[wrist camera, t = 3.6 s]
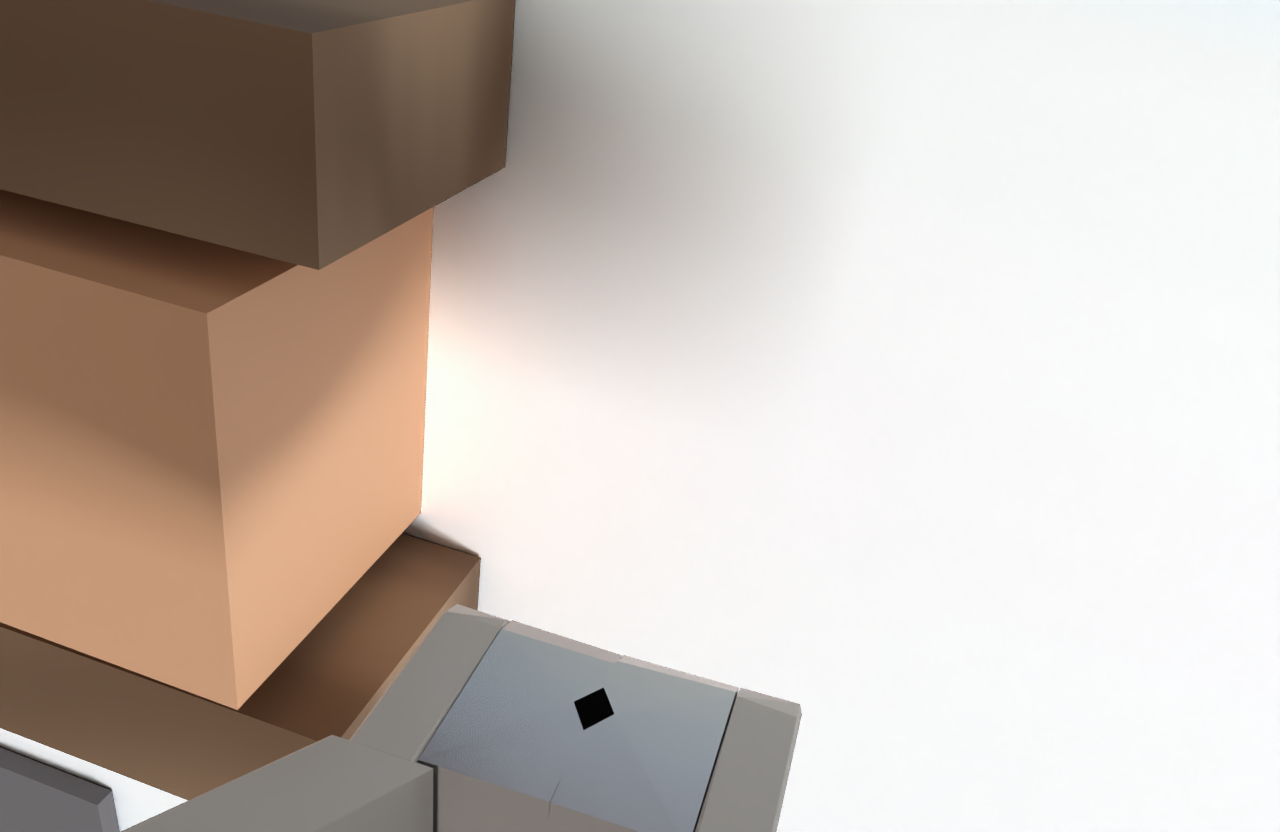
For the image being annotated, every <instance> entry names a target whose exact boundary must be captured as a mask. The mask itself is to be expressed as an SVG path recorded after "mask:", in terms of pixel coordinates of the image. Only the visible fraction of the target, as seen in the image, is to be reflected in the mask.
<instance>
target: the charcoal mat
mask: <svg viewBox="0 0 1280 832" xmlns="http://www.w3.org/2000/svg"><path fill="white" fill-rule="evenodd" d="M0 832H120V831H119V826H118V821H117V816H116V810H115V805H114V800H113V794H112V791H111V790H109V789H106V788H103V787H101V786H98V785H96V784H93V783H91V782H88V781H85V780H83V779H80V778H78V777H75V776H73V775H70V774H68V773H65V772H62V771H60V770H57V769H55V768H52V767H50V766H47V765H44V764H42V763H39V762H37V761H34V760H32V759H29V758H27V757H24V756H21V755H19V754H16V753H14V752H11V751H9V750H6V749H3V748H1V747H0Z"/></svg>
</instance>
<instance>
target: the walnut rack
mask: <svg viewBox="0 0 1280 832" xmlns="http://www.w3.org/2000/svg"><path fill="white" fill-rule="evenodd" d="M514 15H515V0H0V189H2V190H6V191H9V192H13V193H17V194H21V195H25V196H29V197H33V198H37V199H41V200H45V201H49V202H53V203H57V204H61V205H65V206H69V207H72V208H76V209H80V210H84V211H88V212H92V213H96V214H100V215H104V216H108V217H112V218H116V219H120V220H124V221H128V222H132V223H135V224H139V225H143V226H147V227H151V228H155V229H159V230H163V231H167V232H171V233H175V234H179V235H183V236H187V237H191V238H195V239H199V240H202V241H206V242H210V243H214V244H218V245H222V246H226V247H230V248H234V249H238V250H242V251H246V252H250V253H254V254H258V255H262V256H265V257H269V258H273V259H277V260H281V261H285V262H289V263H293V264H297V265H301V266H305V267H309V268H313V269H317V270H320V269H322V268H324V267H326V266H328V265H329V264H331V263H333V262H335V261H337V260H338V259H340V258H342V257H344V256H346V255H347V254H349V253H351V252H353V251H355V250H356V249H358V248H360V247H362V246H364V245H365V244H367V243H369V242H371V241H373V240H374V239H376V238H378V237H380V236H382V235H383V234H385V233H387V232H389V231H391V230H392V229H394V228H396V227H398V226H400V225H401V224H403V223H405V222H407V221H409V220H410V219H412V218H414V217H416V216H418V215H419V214H421V213H423V212H425V211H427V210H429V209H430V208H432V207H434V206H436V205H438V204H439V203H441V202H443V201H445V200H447V199H448V198H450V197H452V196H454V195H456V194H457V193H459V192H461V191H463V190H465V189H466V188H468V187H470V186H472V185H474V184H475V183H477V182H479V181H481V180H483V179H484V178H486V177H488V176H490V175H492V174H493V173H495V172H497V171H499V170H501V169H502V168H504V167H505V159H506V143H507V127H508V111H509V95H510V79H511V63H512V47H513V31H514ZM480 560H481V558H480V557H477V556H473V555H470V554H467V553H464V552H460V551H457V550H454V549H451V548H447V547H444V546H441V545H438V544H434V543H431V542H428V541H425V540H421V539H418V538H415V537H412V536H408V535H405V534H401V535H400V536H399V537H398V538H397V539H396V540H395V541H394V542H393V543H392V544H391V545H390V546H389V548H388V549H387V550H386V551H385V552H384V553H383V554H382V555H381V556H380V557H379V558H378V559H377V560H376V562H375V563H374V564H373V565H372V566H371V567H370V568H369V569H368V570H367V571H366V572H365V573H364V574H363V576H362V577H361V578H360V579H359V580H358V581H357V582H356V583H355V584H354V585H353V586H352V587H351V588H350V590H349V591H348V592H347V593H346V594H345V595H344V596H343V597H342V598H341V599H340V600H339V601H338V603H337V604H336V605H335V606H334V607H333V608H332V609H331V610H330V611H329V612H328V613H327V614H326V615H325V617H324V618H323V619H322V620H321V621H320V622H319V623H318V624H317V625H316V626H315V627H314V628H313V629H312V631H311V632H310V633H309V634H308V635H307V636H306V637H305V638H304V639H303V640H302V641H301V642H300V643H299V645H298V646H297V647H296V648H295V649H294V650H293V651H292V652H291V653H290V654H289V655H288V656H287V657H286V659H285V660H284V661H283V662H282V663H281V664H280V665H279V666H278V667H277V668H276V669H275V670H274V671H273V673H272V674H271V675H270V676H269V677H268V678H267V679H266V680H265V681H264V682H263V683H262V684H261V685H260V687H259V688H258V689H257V690H256V691H255V692H254V693H253V694H252V695H251V696H250V697H249V698H248V699H247V701H246V702H245V703H244V704H243V705H242V706H241V707H240V708H239V709H238V710H236V709H233V708H231V707H228V706H225V705H223V704H220V703H217V702H215V701H212V700H209V699H206V698H204V697H201V696H198V695H196V694H193V693H190V692H188V691H185V690H182V689H179V688H177V687H174V686H171V685H169V684H166V683H163V682H161V681H158V680H155V679H152V678H150V677H147V676H144V675H142V674H139V673H136V672H134V671H131V670H128V669H125V668H123V667H120V666H117V665H115V664H112V663H109V662H107V661H104V660H101V659H99V658H96V657H93V656H90V655H88V654H85V653H82V652H80V651H77V650H74V649H72V648H69V647H66V646H63V645H61V644H58V643H55V642H53V641H50V640H47V639H45V638H42V637H39V636H36V635H34V634H31V633H28V632H26V631H23V630H20V629H18V628H15V627H12V626H10V625H7V624H4V623H1V622H0V728H2V729H5V730H7V731H10V732H12V733H15V734H18V735H20V736H23V737H25V738H28V739H31V740H33V741H36V742H38V743H41V744H44V745H46V746H49V747H51V748H54V749H57V750H59V751H62V752H64V753H67V754H70V755H72V756H75V757H77V758H80V759H83V760H85V761H88V762H90V763H93V764H96V765H98V766H101V767H103V768H106V769H108V770H111V771H114V772H116V773H119V774H121V775H124V776H127V777H129V778H132V779H134V780H137V781H140V782H142V783H145V784H147V785H150V786H153V787H155V788H158V789H160V790H163V791H166V792H168V793H171V794H173V795H176V796H179V797H181V798H184V799H186V800H191V799H193V798H195V797H198V796H200V795H202V794H204V793H206V792H208V791H211V790H213V789H215V788H217V787H219V786H222V785H224V784H226V783H228V782H230V781H232V780H235V779H237V778H239V777H241V776H243V775H246V774H248V773H250V772H252V771H254V770H256V769H259V768H261V767H263V766H265V765H267V764H269V763H272V762H274V761H276V760H278V759H280V758H283V757H285V756H287V755H289V754H291V753H293V752H296V751H298V750H300V749H302V748H304V747H307V746H309V745H311V744H313V743H315V742H317V741H320V740H322V739H324V738H326V737H328V736H330V735H334V736H338V737H341V738H344V739H348V740H349V739H350V738H351V737H352V735H353V734H354V733H355V731H356V730H357V728H358V727H359V726H360V724H361V723H362V722H363V720H364V719H365V718H366V716H367V715H368V714H369V712H370V711H371V709H372V708H373V707H374V705H375V704H376V703H377V701H378V700H379V699H380V697H381V696H382V694H383V693H384V692H385V690H386V689H387V688H388V686H389V685H390V684H391V682H392V681H393V680H394V678H395V677H396V675H397V674H398V673H399V671H400V670H401V669H402V667H403V666H404V665H405V663H406V662H407V660H408V659H409V658H410V656H411V655H412V654H413V652H414V651H415V650H416V648H417V647H418V646H419V644H420V643H421V641H422V640H423V639H424V637H425V636H426V635H427V633H428V632H429V631H430V629H431V628H432V626H433V625H434V624H435V622H436V621H437V620H438V618H439V617H440V616H441V614H443V613H444V612H446V611H447V610H449V609H450V608H452V607H453V606H455V605H456V604H459V605H462V606H465V607H468V608H471V609H474V610H477V609H478V593H479V577H480Z"/></svg>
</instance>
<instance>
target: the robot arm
mask: <svg viewBox="0 0 1280 832" xmlns="http://www.w3.org/2000/svg"><path fill="white" fill-rule="evenodd" d="M738 690H739V688H738V687H735V686H731V685H727V684H724V683H720V682H717V681H713V680H710V679H706V678H703V677H699V676H696V675H692V674H689V673H685V672H681V671H678V670H674V669H671V668H667V667H664V666H660V665H657V664H653V663H650V662H646V661H643V660H639V659H635V658H632V657H628V656H625V655H623V656H622V655H619V654H616V653H613V652H610V651H607V650H603V649H600V648H597V647H594V646H591V645H588V644H585V643H582V642H578V641H575V640H572V639H569V638H566V637H563V636H560V635H556V634H553V633H550V632H547V631H544V630H541V629H538V628H535V627H531V626H528V625H525V624H522V623H519V622H516V621H513V620H512V621H508V620H505V619H502V618H499V617H496V616H492V615H489V614H486V613H483V612H480V611H477V610H474V609H471V608H468V607H465V606H462V605H459V604H456V605H455V606H453V607H452V608H450V609H449V610H447V611H446V612H444V613H443V614H441V616H440V617H439V618H438V620H437V621H436V622H435V624H434V625H433V626H432V628H431V629H430V631H429V632H428V633H427V635H426V636H425V637H424V639H423V640H422V641H421V643H420V644H419V646H418V647H417V648H416V650H415V651H414V652H413V654H412V655H411V656H410V658H409V659H408V660H407V662H406V663H405V665H404V666H403V667H402V669H401V670H400V671H399V673H398V674H397V675H396V677H395V678H394V680H393V681H392V682H391V684H390V685H389V686H388V688H387V689H386V690H385V692H384V693H383V694H382V696H381V697H380V699H379V700H378V701H377V703H376V704H375V705H374V707H373V708H372V709H371V711H370V712H369V714H368V715H367V716H366V718H365V719H364V720H363V722H362V723H361V724H360V726H359V727H358V728H357V730H356V731H355V733H354V734H353V735H352V737H351V738H350V739H349V740H348V739H344V738H341V737H338V736H334V735H330V736H328V737H326V738H324V739H322V740H320V741H317V742H315V743H313V744H311V745H309V746H307V747H304V748H302V749H300V750H298V751H296V752H293V753H291V754H289V755H287V756H285V757H283V758H280V759H278V760H276V761H274V762H272V763H269V764H267V765H265V766H263V767H261V768H259V769H256V770H254V771H252V772H250V773H248V774H246V775H243V776H241V777H239V778H237V779H235V780H232V781H230V782H228V783H226V784H224V785H222V786H219V787H217V788H215V789H213V790H211V791H208V792H206V793H204V794H202V795H200V796H198V797H195V798H193V799H191V800H189V801H187V802H185V803H182V804H180V805H178V806H176V807H174V808H171V809H169V810H167V811H165V812H163V813H161V814H158V815H156V816H154V817H152V818H150V819H147V820H145V821H143V822H141V823H139V824H137V825H134V826H132V827H130V828H128V829H126V830H123V831H121V832H776V831H777V826H778V822H779V817H780V812H781V808H782V803H783V798H784V794H785V789H786V785H787V780H788V775H789V771H790V766H791V762H792V757H793V752H794V748H795V743H796V738H797V734H798V729H799V725H800V720H801V715H802V713H801V707H800V704H797V703H794V702H790V701H786V700H783V699H779V698H776V697H772V696H768V695H765V694H761V693H758V692H754V691H750V690H747V689H743V688H740V690H739V692H738Z"/></svg>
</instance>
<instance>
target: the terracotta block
mask: <svg viewBox="0 0 1280 832" xmlns="http://www.w3.org/2000/svg"><path fill="white" fill-rule="evenodd" d="M433 208H434V207H432V208H430V209H429V210H427V211H425V212H423V213H421V214H419V215H418V216H416V217H414V218H412V219H410V220H409V221H407V222H405V223H403V224H401V225H400V226H398V227H396V228H394V229H392V230H391V231H389V232H387V233H385V234H383V235H382V236H380V237H378V238H376V239H374V240H373V241H371V242H369V243H367V244H365V245H364V246H362V247H360V248H358V249H356V250H355V251H353V252H351V253H349V254H347V255H346V256H344V257H342V258H340V259H338V260H337V261H335V262H333V263H331V264H329V265H328V266H326V267H324V268H322V269H320V270H317V269H313V268H309V267H305V266H301V265H297V264H293V263H289V262H285V261H281V260H277V259H273V258H269V257H265V256H262V255H258V254H254V253H250V252H246V251H242V250H238V249H234V248H230V247H226V246H222V245H218V244H214V243H210V242H206V241H202V240H199V239H195V238H191V237H187V236H183V235H179V234H175V233H171V232H167V231H163V230H159V229H155V228H151V227H147V226H143V225H139V224H135V223H132V222H128V221H124V220H120V219H116V218H112V217H108V216H104V215H100V214H96V213H92V212H88V211H84V210H80V209H76V208H72V207H69V206H65V205H61V204H57V203H53V202H49V201H45V200H41V199H37V198H33V197H29V196H25V195H21V194H17V193H13V192H9V191H6V190H2V189H0V622H1V623H4V624H7V625H10V626H12V627H15V628H18V629H20V630H23V631H26V632H28V633H31V634H34V635H36V636H39V637H42V638H45V639H47V640H50V641H53V642H55V643H58V644H61V645H63V646H66V647H69V648H72V649H74V650H77V651H80V652H82V653H85V654H88V655H90V656H93V657H96V658H99V659H101V660H104V661H107V662H109V663H112V664H115V665H117V666H120V667H123V668H125V669H128V670H131V671H134V672H136V673H139V674H142V675H144V676H147V677H150V678H152V679H155V680H158V681H161V682H163V683H166V684H169V685H171V686H174V687H177V688H179V689H182V690H185V691H188V692H190V693H193V694H196V695H198V696H201V697H204V698H206V699H209V700H212V701H215V702H217V703H220V704H223V705H225V706H228V707H231V708H233V709H236V710H238V709H239V708H240V707H241V706H242V705H243V704H244V703H245V702H246V701H247V699H248V698H249V697H250V696H251V695H252V694H253V693H254V692H255V691H256V690H257V689H258V688H259V687H260V685H261V684H262V683H263V682H264V681H265V680H266V679H267V678H268V677H269V676H270V675H271V674H272V673H273V671H274V670H275V669H276V668H277V667H278V666H279V665H280V664H281V663H282V662H283V661H284V660H285V659H286V657H287V656H288V655H289V654H290V653H291V652H292V651H293V650H294V649H295V648H296V647H297V646H298V645H299V643H300V642H301V641H302V640H303V639H304V638H305V637H306V636H307V635H308V634H309V633H310V632H311V631H312V629H313V628H314V627H315V626H316V625H317V624H318V623H319V622H320V621H321V620H322V619H323V618H324V617H325V615H326V614H327V613H328V612H329V611H330V610H331V609H332V608H333V607H334V606H335V605H336V604H337V603H338V601H339V600H340V599H341V598H342V597H343V596H344V595H345V594H346V593H347V592H348V591H349V590H350V588H351V587H352V586H353V585H354V584H355V583H356V582H357V581H358V580H359V579H360V578H361V577H362V576H363V574H364V573H365V572H366V571H367V570H368V569H369V568H370V567H371V566H372V565H373V564H374V563H375V562H376V560H377V559H378V558H379V557H380V556H381V555H382V554H383V553H384V552H385V551H386V550H387V549H388V548H389V546H390V545H391V544H392V543H393V542H394V541H395V540H396V539H397V538H398V537H399V536H400V535H401V534H402V532H403V531H404V530H405V529H406V528H407V527H408V526H409V525H410V524H411V523H412V522H413V521H414V520H415V518H416V517H417V516H418V515H419V514H420V513H421V500H422V476H423V452H424V427H425V403H426V378H427V354H428V330H429V305H430V281H431V257H432V232H433Z"/></svg>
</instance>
